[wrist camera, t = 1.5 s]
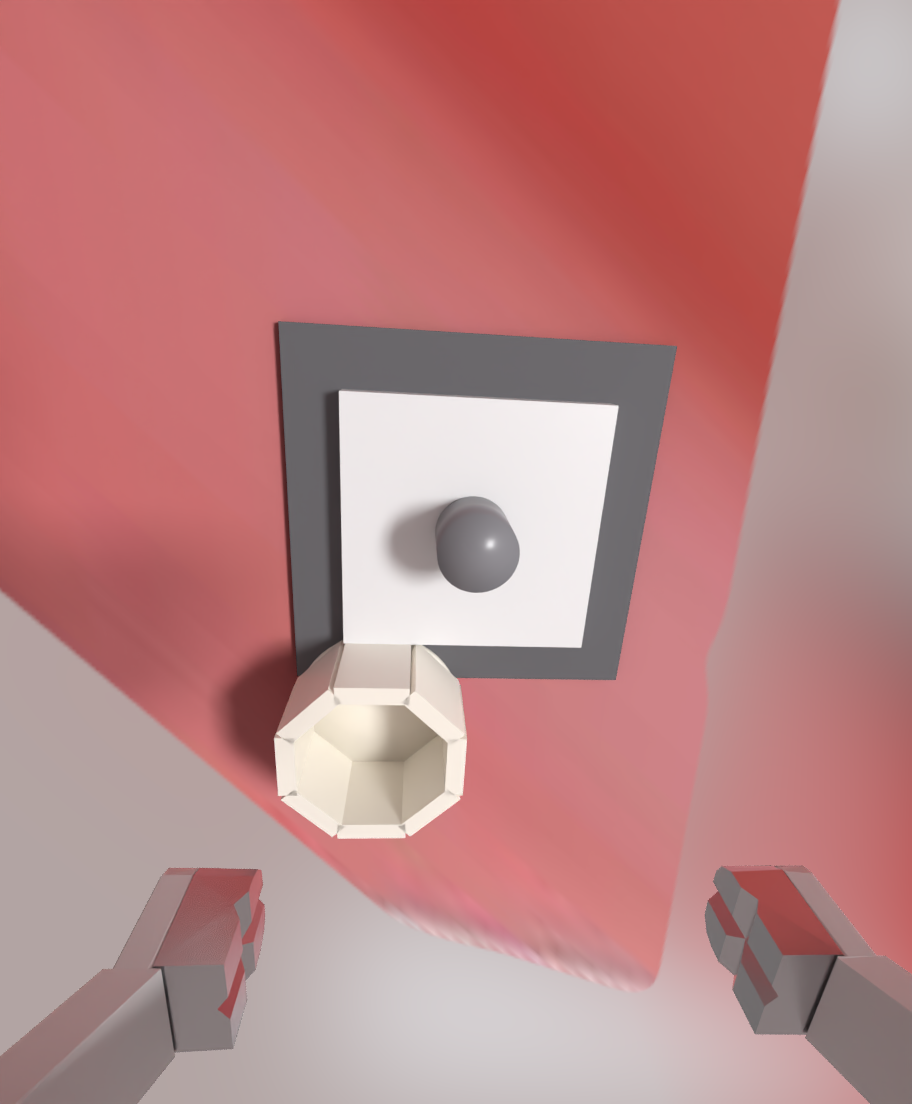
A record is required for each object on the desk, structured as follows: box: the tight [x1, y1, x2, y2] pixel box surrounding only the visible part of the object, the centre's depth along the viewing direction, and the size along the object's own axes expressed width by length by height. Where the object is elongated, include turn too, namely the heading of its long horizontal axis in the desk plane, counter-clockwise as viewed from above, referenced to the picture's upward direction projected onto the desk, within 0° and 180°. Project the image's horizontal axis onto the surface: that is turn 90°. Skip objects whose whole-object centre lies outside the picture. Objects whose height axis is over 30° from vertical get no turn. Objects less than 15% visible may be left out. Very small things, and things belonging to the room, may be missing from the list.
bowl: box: [274, 640, 467, 839], centre depth 32 cm, size 10×10×6 cm
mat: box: [278, 321, 677, 680], centre depth 31 cm, size 20×20×1 cm
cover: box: [339, 389, 619, 648], centre depth 28 cm, size 14×14×5 cm
